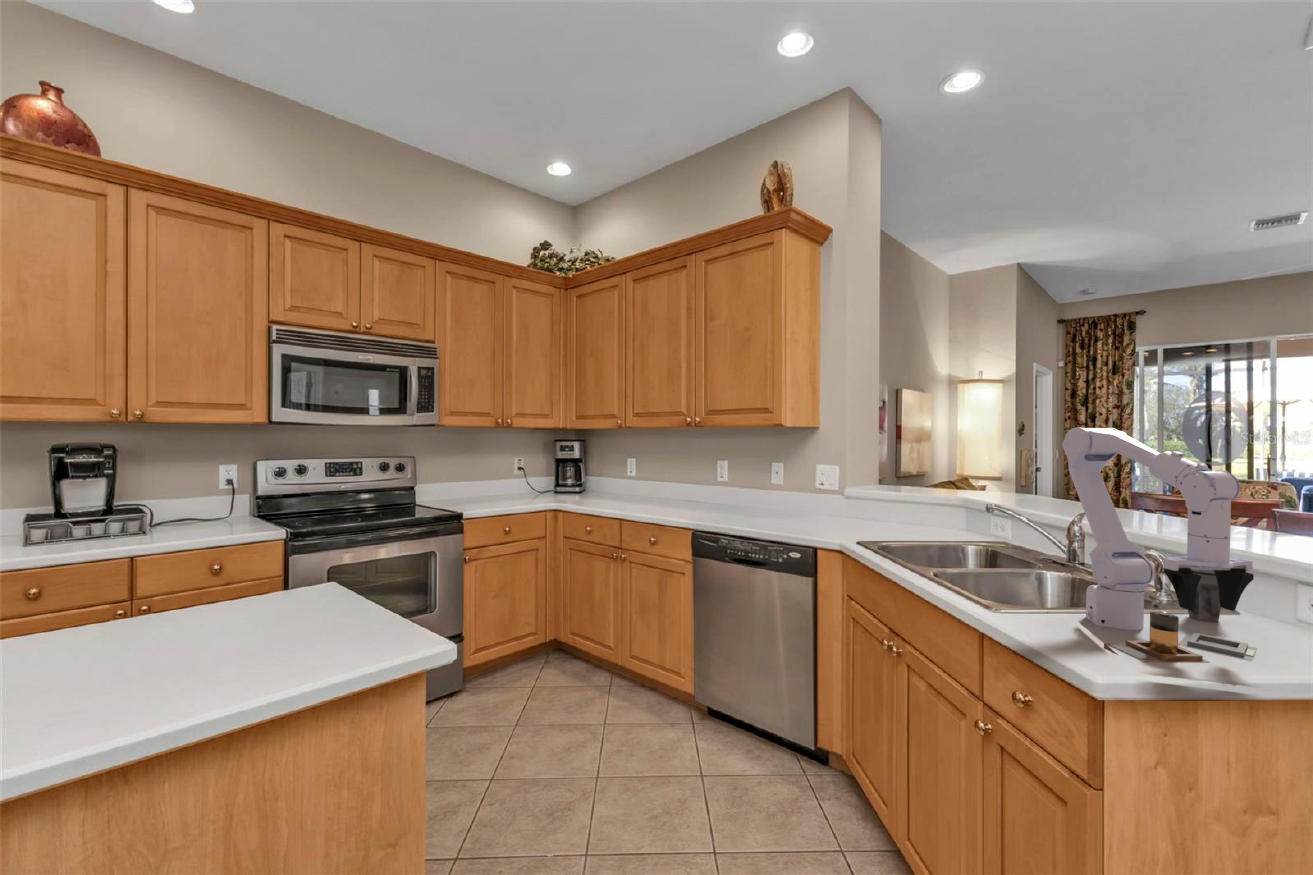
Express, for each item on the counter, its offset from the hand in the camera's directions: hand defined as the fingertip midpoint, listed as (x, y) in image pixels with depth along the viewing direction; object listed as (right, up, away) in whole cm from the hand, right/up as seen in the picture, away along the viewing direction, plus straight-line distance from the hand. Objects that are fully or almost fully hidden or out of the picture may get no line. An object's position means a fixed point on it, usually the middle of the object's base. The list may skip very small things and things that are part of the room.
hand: (1207, 608), depth 106 cm
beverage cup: (+19, -10, +21) cm, 30 cm away
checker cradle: (+6, -9, +4) cm, 12 cm away
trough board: (-9, -9, +1) cm, 13 cm away
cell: (-7, -8, +1) cm, 11 cm away
